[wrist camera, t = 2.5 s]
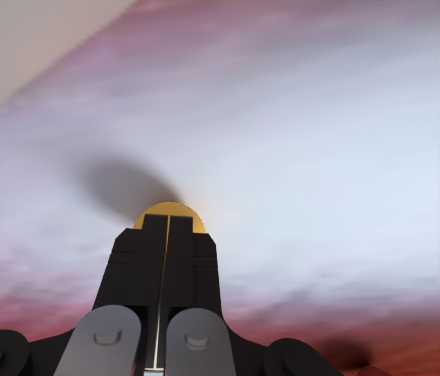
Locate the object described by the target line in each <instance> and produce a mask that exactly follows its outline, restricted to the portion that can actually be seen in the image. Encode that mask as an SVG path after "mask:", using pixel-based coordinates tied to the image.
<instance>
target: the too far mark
mask: <svg viewBox="0 0 440 376" xmlns="http://www.w3.org/2000/svg"><path fill="white" fill-rule="evenodd" d="M144 376H163V371H145V372H144Z"/></svg>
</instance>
